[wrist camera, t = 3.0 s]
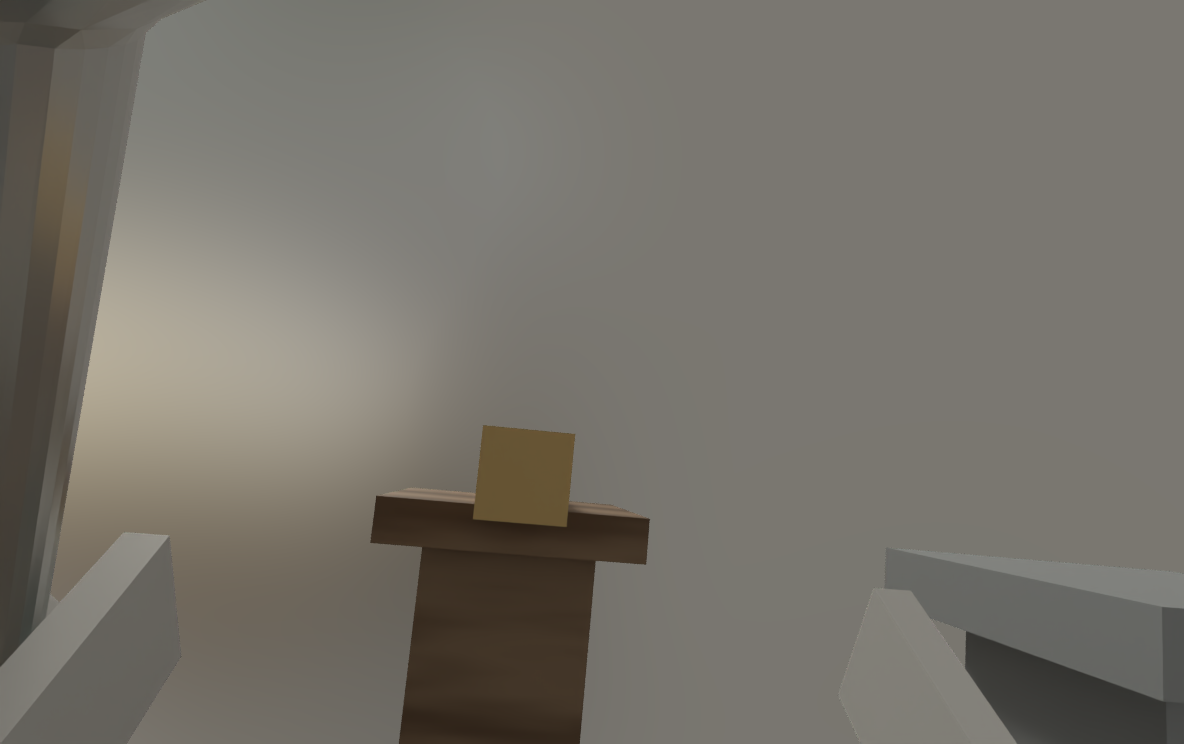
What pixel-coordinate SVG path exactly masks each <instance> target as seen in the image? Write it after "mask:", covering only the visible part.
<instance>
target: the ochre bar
mask: <svg viewBox="0 0 1184 744" xmlns="http://www.w3.org/2000/svg"><path fill="white" fill-rule="evenodd" d="M574 441H575V434H569V433H558V432H547V431H538V430H528V429H517V428H505V427H496V426H486V425H484V426H483V432H482V441H481V450H480V459H479V469H478V477H477V486H476V495H475V504H474V513H473V519H476V520H488V521H500V522H512V523H524V524H536V525H548V526H560V527H567V516H568V506H569V494H570V483H571V473H572V462H573V450H574Z"/></svg>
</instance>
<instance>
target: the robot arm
mask: <svg viewBox="0 0 1184 744" xmlns="http://www.w3.org/2000/svg"><path fill="white" fill-rule="evenodd" d="M203 1H205V0H0V744H127V742H128V741H129V739H130V738H131V736H132V734H133V732H134V731H135V730H136V728H137V726H138V725H139V723H140V722H141V720H142V718H143V717H144V715H145V713H146V712H147V710H148V709H149V707H150V705H151V704H152V702H153V701H154V699H155V698H156V696H157V694H158V693H159V691H160V690H161V688H162V686H163V685H164V683H165V681H166V680H167V678H168V677H169V675H170V673H171V672H172V670H173V669H174V667H175V666H176V664H177V662H178V661H179V659H180V658H181V649H180V638H179V628H178V618H177V608H176V597H175V588H174V577H173V566H172V556H171V546H170V536H169V535H156V534H143V533H129V532H124V533H123V534H122V535H121V536H120V537H119V538H118V539H117V541H116V542H115V543H114V544H113V545H112V546H111V547H110V548H109V549H108V550H107V551H106V553H105V554H104V555H103V556H102V557H101V558H100V559H99V560H98V561H97V562H96V563H95V565H94V566H93V567H92V568H91V569H90V570H89V571H88V572H87V573H86V574H85V575H84V577H83V578H82V579H81V580H80V581H79V582H78V583H77V584H76V585H75V586H74V587H73V588H72V590H71V591H70V592H69V593H68V594H67V595H66V596H65V597H64V598H63V599H62V600H61V602H58V601H57V600H56V599H55V598H54V597H53V596H52V595H51V594H50V591H51V584H52V579H53V573H54V567H55V561H56V555H57V550H58V544H59V537H60V532H61V525H62V519H63V513H64V508H65V502H66V496H67V490H68V484H69V478H70V473H71V466H72V460H73V455H74V448H75V443H76V437H77V431H78V425H79V419H80V413H81V407H82V401H83V396H84V390H85V384H86V377H87V372H88V366H89V360H90V354H91V348H92V343H93V336H94V331H95V325H96V319H97V314H98V307H99V302H100V295H101V290H102V283H103V278H104V273H105V267H106V261H107V255H108V249H109V243H110V238H111V232H112V226H113V220H114V214H115V208H116V203H117V197H118V191H119V185H120V179H121V174H122V167H123V162H124V156H125V150H126V145H127V138H128V133H129V127H130V121H131V115H132V110H133V104H134V98H135V92H136V86H137V80H138V75H139V68H140V63H141V57H142V51H143V45H144V40H145V34H146V32H147V31H148V30H149V29H151V28H152V27H153V26H154V25H155V24H156V23H157V22H158V21H160V20H161V19H162V18H165V17H167V16H169V15H172V14H174V13H177V12H179V11H181V10H183V9H186V8H188V7H191V6H193V5H196V4H198V3H201V2H203ZM838 696H839V698H840V700H841V703H842V705H843V707H844V709H845V711H846V714H847V716H848V718H849V720H850V722H851V724H852V726H853V729H854V731H855V733H856V735H857V737H858V739H859V741H860V744H1017V743H1016V741H1015V740H1014V738H1013V737H1012V736H1011V734H1010V733H1009V731H1008V730H1007V728H1006V727H1005V726H1004V724H1003V723H1002V721H1001V720H1000V718H999V717H998V715H997V714H996V713H995V711H994V710H993V708H992V707H991V705H990V704H989V702H988V701H987V700H986V698H985V697H984V695H983V694H982V692H981V691H980V690H979V688H978V687H977V685H976V684H975V682H974V681H973V679H972V678H971V677H970V675H969V674H968V672H967V671H966V669H965V668H964V667H963V665H962V664H961V662H960V661H959V659H958V658H957V656H956V655H955V654H954V652H953V651H952V649H951V648H950V646H949V645H948V643H947V642H946V641H945V639H944V638H943V636H942V635H941V633H940V632H939V631H938V629H937V628H936V626H935V625H934V623H933V622H932V620H931V619H930V617H929V616H928V615H927V613H926V612H925V610H924V609H923V607H922V606H921V605H920V603H919V602H918V600H917V599H916V597H915V596H914V594H913V593H912V592H911V591H909V590H896V589H882V588H874V589H873V591H872V594H871V597H870V600H869V603H868V606H867V609H866V612H865V615H864V619H863V622H862V624H861V628H860V630H859V633H858V636H857V640H856V643H855V645H854V648H853V652H852V655H851V657H850V661H849V663H848V667H847V670H846V673H845V676H844V679H843V682H842V685H841V688H840V691H839V694H838Z"/></svg>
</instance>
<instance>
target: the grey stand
mask: <svg viewBox="0 0 1184 744" xmlns="http://www.w3.org/2000/svg"><path fill="white" fill-rule="evenodd" d="M885 589H896V590H909V591H911V592H912V593H913V594H914V596H915V597H916V599H917V600H918V602H919V603H920V605H921V606H922V607H923V609H924V610H925V612H926V613H927V615H928V616H929V617H930V618H931V619H934V620H937V621H940V622H943V623H945V624H948V625H951V626H954V627H957V628H959V629H962V630H965V631H966V659H965V660H966V661H965V662H966V663H965V669H966V671H967V672H968V674H969V675H970V677H971V678H972V679H973V681H974V682H975V684H976V685H977V687H978V688H979V690H980V691H981V692H982V694H983V695H984V697H985V698H986V700H987V701H988V702H989V704H990V705H991V707H992V708H993V710H994V711H995V713H996V714H997V715H998V717H999V718H1000V720H1001V721H1002V723H1003V724H1004V726H1005V727H1006V728H1007V730H1008V731H1009V733H1010V734H1011V736H1012V737H1013V738H1014V740H1015V741H1016V743H1017V744H1184V573H1177V572H1170V571H1158V570H1146V569H1134V568H1123V567H1110V566H1099V565H1086V564H1074V563H1063V562H1052V561H1040V560H1027V559H1016V558H1004V557H991V556H980V555H968V554H957V553H944V552H932V551H921V550H909V549H897V548H886V562H885Z"/></svg>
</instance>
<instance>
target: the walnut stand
mask: <svg viewBox="0 0 1184 744" xmlns="http://www.w3.org/2000/svg"><path fill="white" fill-rule="evenodd" d="M475 495H476V493H467V492H457V491H445V490H434V489H423V488H422V489H421V488H407V489H402V490H398V491H394V492H390V493H386V494H382V495H377V496H376V503H375V512H374V519H373V527H372V534H371V543H379V544H391V545H405V546H417V547H422V554H421V562H420V570H419V579H418V587H417V596H416V604H415V613H414V621H413V630H412V638H411V646H410V655H409V663H408V671H407V681H406V688H405V697H404V706H403V714H402V722H401V730H400V739H399V744H580V733H581V721H582V710H583V699H584V688H585V676H586V665H587V664H586V663H587V653H588V642H589V630H590V618H591V608H592V607H591V606H592V596H593V584H594V573H595V561H607V562H620V563H633V564H646V559H647V545H648V533H649V521H650V519H648V518H646V517H643V516H640V515H637V514H635V513H632V512H629V511H627V510H624V509H621V508H618V507H616V506H613V505H606V504H595V503H584V502H572V501H569V506H568V516H567V527H560V526H548V525H536V524H524V523H512V522H500V521H488V520H476V519H473V513H474V504H475Z"/></svg>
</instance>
